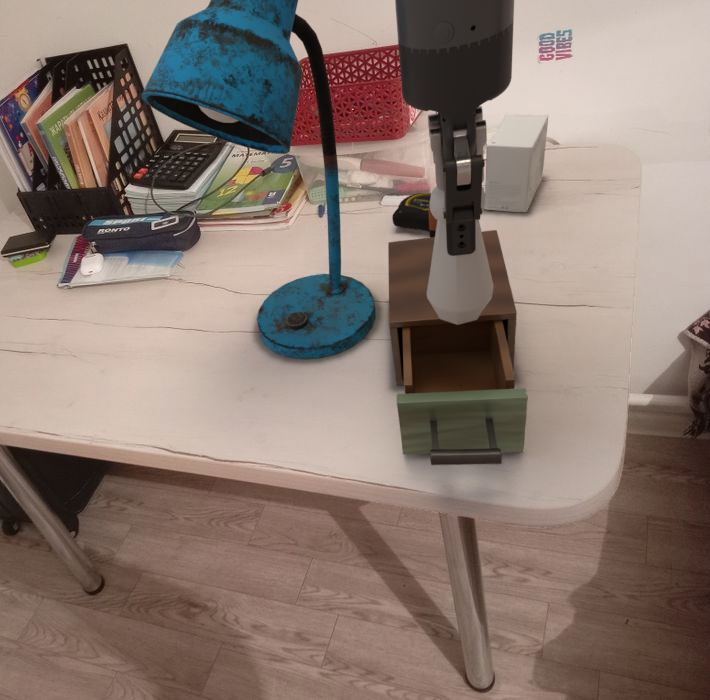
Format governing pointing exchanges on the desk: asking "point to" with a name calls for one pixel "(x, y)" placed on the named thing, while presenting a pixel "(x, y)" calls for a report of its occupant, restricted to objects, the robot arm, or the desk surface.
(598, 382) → the desk surface
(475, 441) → the drawer
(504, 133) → the cosmetics box
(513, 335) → the cabinet
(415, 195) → the tape measure
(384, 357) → the desk surface
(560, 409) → the desk surface
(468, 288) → the salt shaker
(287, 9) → the desk lamp
